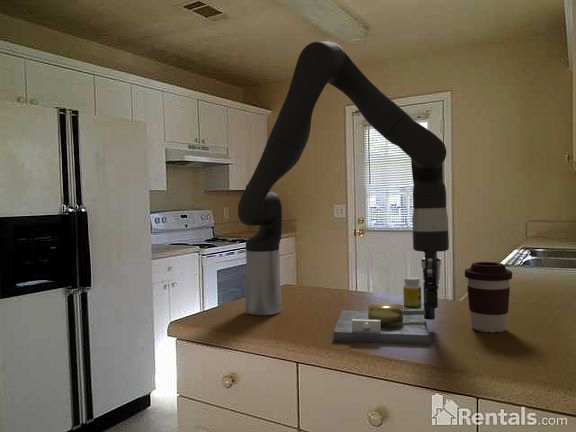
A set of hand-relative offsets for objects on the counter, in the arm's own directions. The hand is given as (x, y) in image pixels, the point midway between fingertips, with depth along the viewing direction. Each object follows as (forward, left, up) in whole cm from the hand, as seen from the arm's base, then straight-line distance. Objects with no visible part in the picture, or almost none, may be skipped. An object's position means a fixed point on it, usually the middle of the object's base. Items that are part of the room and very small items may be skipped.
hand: (432, 307), depth 101 cm
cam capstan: (-7, +4, -4) cm, 8 cm away
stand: (-11, +3, -6) cm, 13 cm away
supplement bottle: (-3, +25, -7) cm, 26 cm away
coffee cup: (+13, +7, -7) cm, 16 cm away
